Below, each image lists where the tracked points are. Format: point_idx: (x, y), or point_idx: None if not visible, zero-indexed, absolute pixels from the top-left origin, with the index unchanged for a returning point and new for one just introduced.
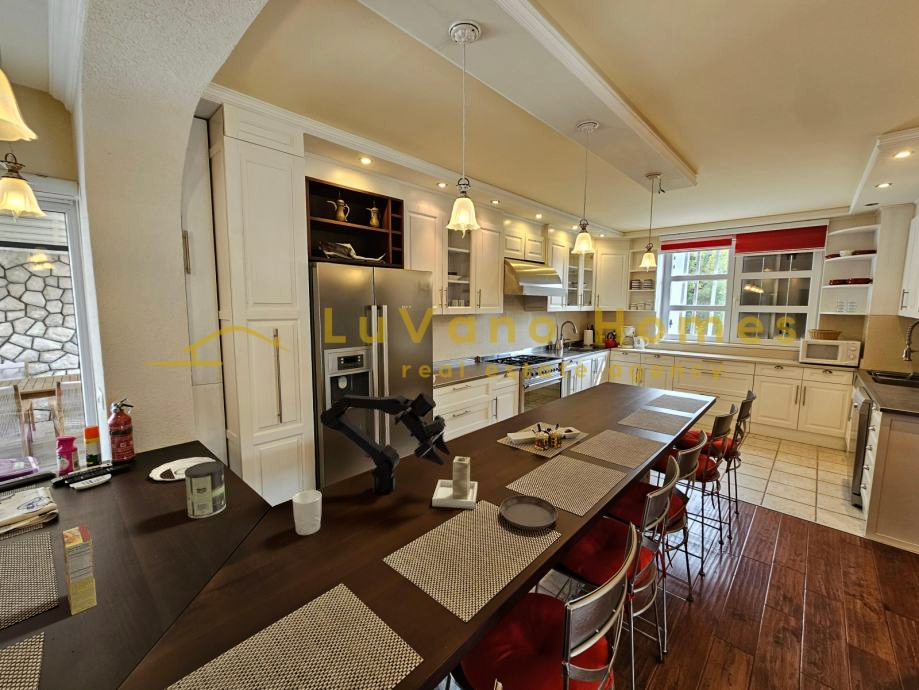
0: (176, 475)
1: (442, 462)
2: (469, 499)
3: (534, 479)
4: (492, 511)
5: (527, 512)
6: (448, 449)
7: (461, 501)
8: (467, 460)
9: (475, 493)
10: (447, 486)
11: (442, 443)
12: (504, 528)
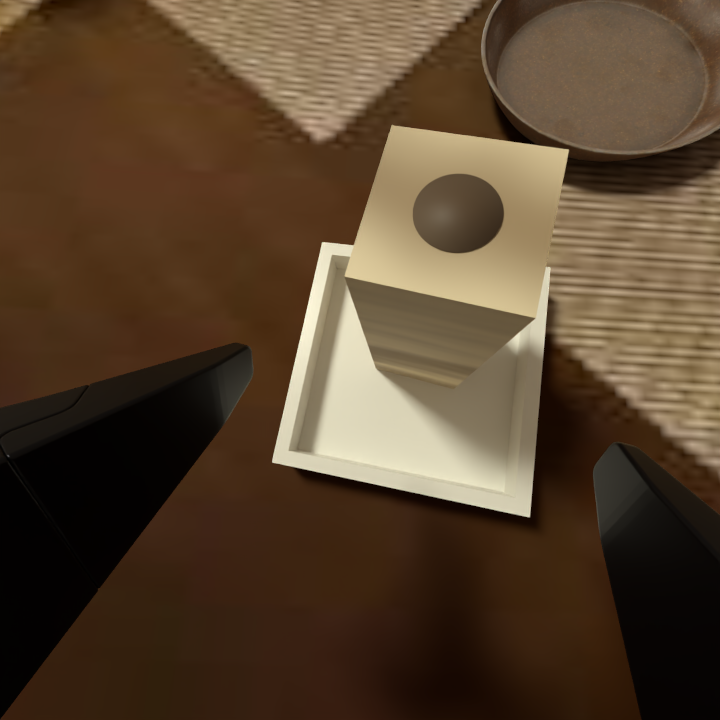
0: None
1: (659, 472)
2: None
3: (268, 31)
4: None
5: (566, 75)
6: (199, 355)
7: (541, 339)
8: (477, 151)
9: None
10: (308, 410)
11: (85, 457)
12: (700, 174)
